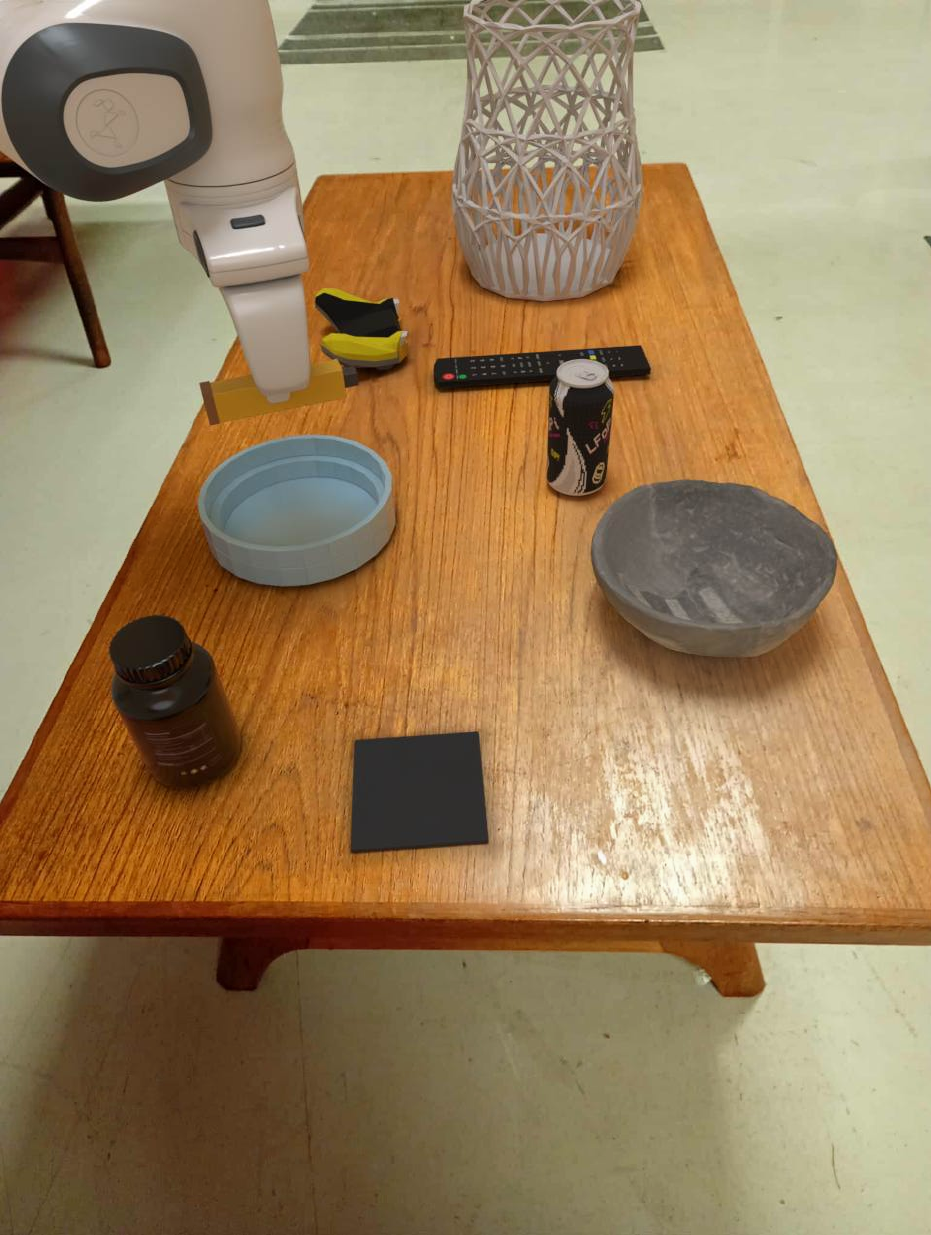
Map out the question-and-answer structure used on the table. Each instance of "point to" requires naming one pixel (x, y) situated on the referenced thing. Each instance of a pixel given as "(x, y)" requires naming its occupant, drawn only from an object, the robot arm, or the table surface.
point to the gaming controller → (362, 330)
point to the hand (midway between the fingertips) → (274, 388)
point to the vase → (547, 159)
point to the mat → (417, 792)
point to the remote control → (534, 366)
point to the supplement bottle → (172, 703)
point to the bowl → (712, 566)
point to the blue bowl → (298, 509)
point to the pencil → (246, 401)
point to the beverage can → (579, 427)
